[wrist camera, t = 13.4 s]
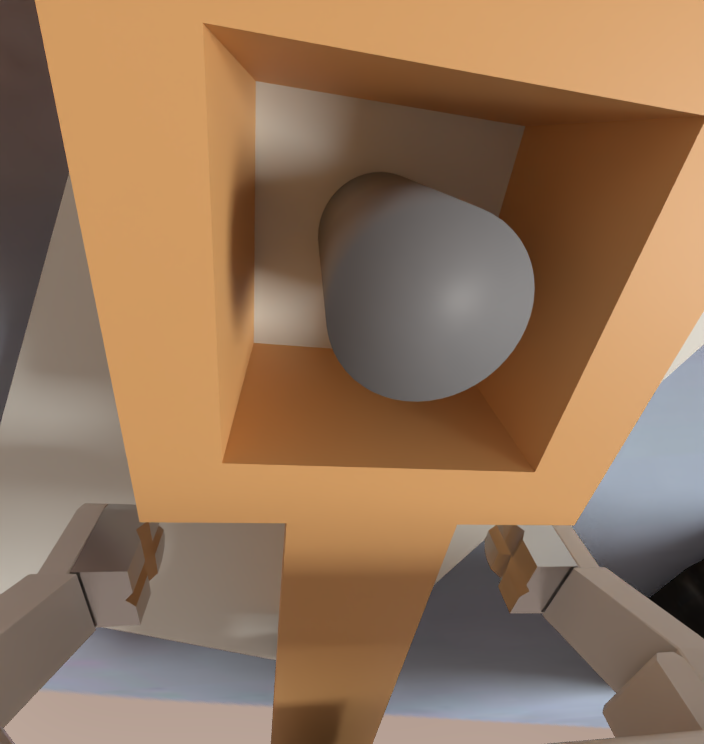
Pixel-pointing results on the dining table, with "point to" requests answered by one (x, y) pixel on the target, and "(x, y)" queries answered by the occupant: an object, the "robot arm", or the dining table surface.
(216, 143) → the link
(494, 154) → the board
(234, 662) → the dining table surface
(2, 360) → the dining table surface
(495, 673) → the dining table surface
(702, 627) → the beer stein
